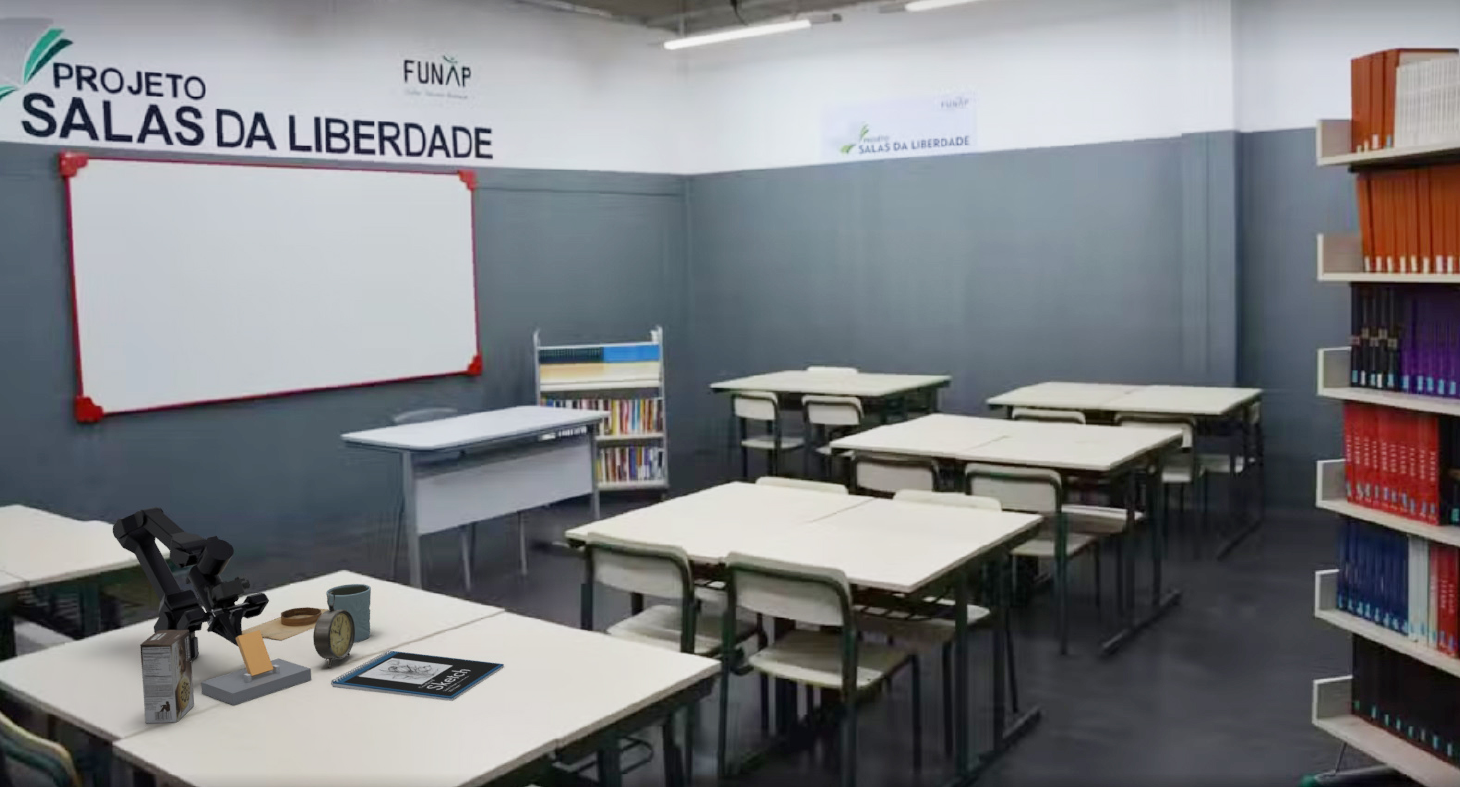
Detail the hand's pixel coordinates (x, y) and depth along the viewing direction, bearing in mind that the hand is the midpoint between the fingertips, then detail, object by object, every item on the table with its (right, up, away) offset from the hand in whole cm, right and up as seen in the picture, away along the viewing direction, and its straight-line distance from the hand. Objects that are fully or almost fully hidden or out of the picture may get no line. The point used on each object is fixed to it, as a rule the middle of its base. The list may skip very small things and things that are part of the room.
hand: (240, 645), depth 246 cm
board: (-4, -5, +43) cm, 44 cm away
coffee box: (-7, -10, -18) cm, 21 cm away
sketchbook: (+38, -8, +3) cm, 39 cm away
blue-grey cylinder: (+14, -5, +31) cm, 34 cm away
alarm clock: (+16, -7, +13) cm, 21 cm away
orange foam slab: (+6, -5, -4) cm, 9 cm away
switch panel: (+5, -8, -2) cm, 10 cm away
